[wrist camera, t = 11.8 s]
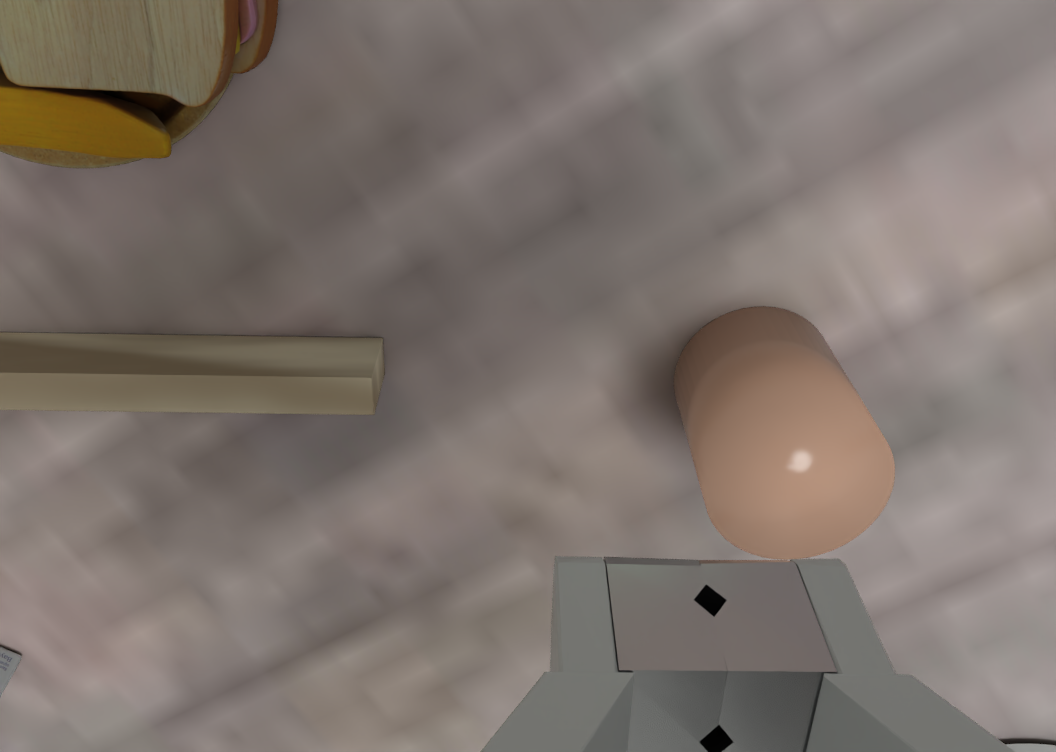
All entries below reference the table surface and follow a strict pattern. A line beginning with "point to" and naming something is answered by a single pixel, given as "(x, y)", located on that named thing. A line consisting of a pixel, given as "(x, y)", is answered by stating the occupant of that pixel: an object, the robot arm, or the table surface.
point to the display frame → (190, 373)
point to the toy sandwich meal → (119, 73)
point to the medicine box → (7, 666)
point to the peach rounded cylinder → (779, 436)
